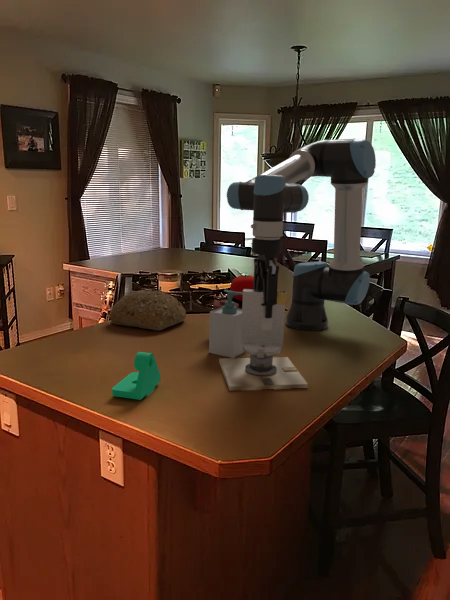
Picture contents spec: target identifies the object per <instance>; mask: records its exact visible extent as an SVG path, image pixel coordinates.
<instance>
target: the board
mask: <svg viewBox="0 0 450 600" xmlns="http://www.w3.org/2000/svg"><path fill="white" fill-rule="evenodd" d="M218 364H219V366H220V368H221V371H222V374H223V378H224V380H225V383H226V385H227V388H228V390H229V392H233V391H234V390H235V391H236V390H237V391H238V390H241V391H263V390H262V389H265V390H264V391H266V389H274V390H292V389H291V388H307V389H308V386H309V383H307V381H306V380H305V378H304V377H303V376H302V374H301V373H300V371H299V370H298V368H297V367H296V366H295V365H294V364H293V363H292V361H291V359H290V358H289V357H288V356H283V357H282V356H281V357H280V356H278V357H277V356H275V357H274V356H273V363H272V365H274V366H276V368H277V372H276V373H275V374H274V375H271V376H254V375H251V374H249V373H247V372H246V371H245V366H246V365H247V364H250V357H235V358H230V357H225V358H221V357H220V358H219V360H218Z"/></svg>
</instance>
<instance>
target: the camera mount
mask: <svg viewBox="0 0 450 600" xmlns="http://www.w3.org/2000/svg"><path fill="white" fill-rule="evenodd" d="M133 364H134V369H135V370H136V371H133V372H130V373H129V374H128V375H126V376H125V377H124V378H123V379H121V380H120V381H119V382H118V383H116V384H115V385H114V386H113V387H112V388H111V395H112V396H113V397H119V398H125V399H132V400H139V401H141V400H142V399H143V398H145V397H144V396H148V395H149V394H150V393H151V392H152V391H153V390H154V391H155V390H156V386H157V385H158V384H159V383H160V382H161V378H162V377H161V376H162V375H161V373H160V370H159V367H158V363H157V360H156V357H155V355H154V353H153V352H142V351H138V352H137V353H136V354H135V358H134V362H133ZM154 391H153V392H154ZM153 392H152V393H153ZM152 393H151V394H152ZM151 394H150V395H151ZM150 395H149V396H150ZM149 396H148V397H149Z"/></svg>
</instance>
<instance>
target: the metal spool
mask: <svg viewBox="0 0 450 600" xmlns="http://www.w3.org/2000/svg"><path fill="white" fill-rule="evenodd" d="M249 355H250V354H249ZM273 357H274V356H264V358H259V357H257V356H255V355H250V357H249V358H250V364H247V365H246V366H245V371H246V372H247V373H249V374H251V375H254V376H271V375H274V374H275V373H276V372H277V368H276V366H274V365H272V363H273Z"/></svg>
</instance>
